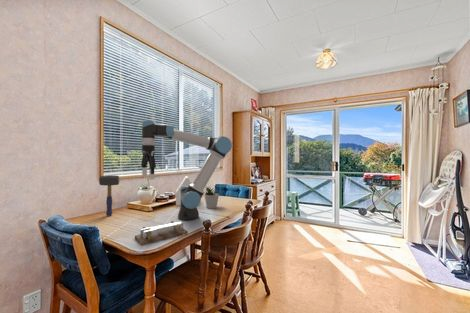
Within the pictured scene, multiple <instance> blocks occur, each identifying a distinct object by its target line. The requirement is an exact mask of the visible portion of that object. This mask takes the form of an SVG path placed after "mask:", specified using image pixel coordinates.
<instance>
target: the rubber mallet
mask: <svg viewBox="0 0 470 313" xmlns="http://www.w3.org/2000/svg"><path fill="white" fill-rule="evenodd" d="M98 184H99V186H107V196H106V201H105V202H106V213H105V214H106V216H107V217H110V216H112V215H113V207H112V206H113V196H112V186H117V185H118V186H119V184H120V176H119V175H100V176H99V180H98Z"/></svg>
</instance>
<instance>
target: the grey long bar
mask: <svg viewBox="0 0 470 313" xmlns="http://www.w3.org/2000/svg"><path fill="white" fill-rule="evenodd" d="M178 225H181V230H183V229H184V222H182V221H177V222H174V223H171V222H170V223H167V224H162V225H161V224H160V225H156V226H149V227H146V228H143V227H142V228H140V229H139V235H140V237H143V240H145V239H148V232H149V231H151V238H154V237H157V236H159V235H163V234H167V233H172V232H176V231H178Z"/></svg>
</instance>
